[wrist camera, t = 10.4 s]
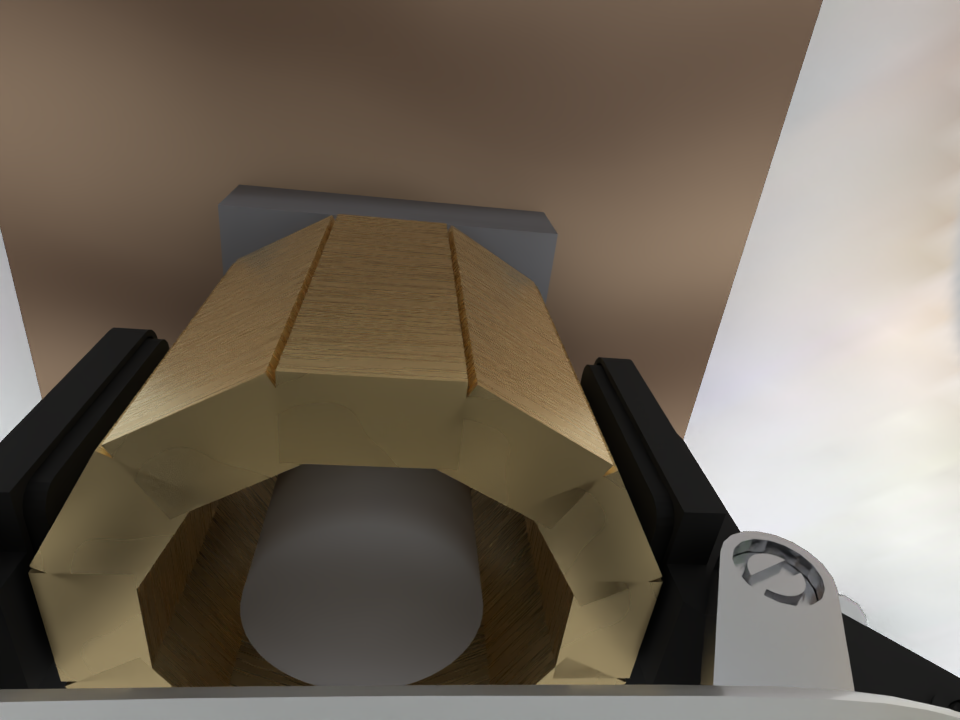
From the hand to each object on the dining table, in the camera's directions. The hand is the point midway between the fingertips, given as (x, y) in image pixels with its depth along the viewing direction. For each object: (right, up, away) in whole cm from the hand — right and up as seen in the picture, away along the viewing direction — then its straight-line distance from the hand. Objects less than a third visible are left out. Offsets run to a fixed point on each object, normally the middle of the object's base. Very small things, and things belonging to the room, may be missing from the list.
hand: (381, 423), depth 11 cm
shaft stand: (-1, +2, +5) cm, 5 cm away
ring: (0, 0, +1) cm, 1 cm away
